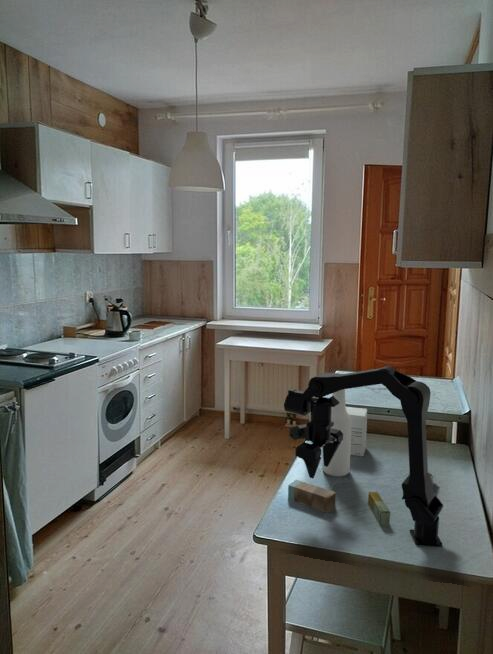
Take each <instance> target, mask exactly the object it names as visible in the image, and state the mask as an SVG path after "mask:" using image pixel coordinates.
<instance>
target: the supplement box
mask: <svg viewBox="0 0 493 654" xmlns="http://www.w3.org/2000/svg"><path fill="white" fill-rule="evenodd" d="M346 411H347V412H348V414H349V415H350V417H351V421H352V426H351V451H350V456H355V457H357V456H358V457H365V452H366V449H367V429H368V425H367V422H368V408H364V407H363V408H361V407H360V408H359V407H351V406H346Z"/></svg>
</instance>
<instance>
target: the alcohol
mask: <svg viewBox="0 0 493 654" xmlns="http://www.w3.org/2000/svg"><path fill="white" fill-rule="evenodd" d="M331 395H332V396H334V397H335V399H337V400H338V401H339V404H338V405H336V406H335V407H332V412H331V421H332V422H334V425H333V426H332V427H331V428H333V429H337V430H341V432H342V433H343V440H342V441H341V444H340V445H339V447H338V448H337V450H336V452H335V454H334V456H333V458H332V460H331V462H330V464H329V465H328V467H326V466H324V460H323V459H322V471H323V472H324V473H325V475H328V476H331V477H336V478H337V477H338V478H341V477H345V476H347V475H348V474H349V472H350V471H351V455H350V451H351V426H352V421H351V417H350V415H349V414H348V412H347V411H346V407H347V406H346V389H343V390H340V391H337V392H334V393H332V394H331ZM332 396H331V397H332Z"/></svg>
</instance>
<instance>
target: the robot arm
mask: <svg viewBox="0 0 493 654" xmlns="http://www.w3.org/2000/svg"><path fill="white" fill-rule="evenodd" d="M307 385H308V387H307V388H306V389H304V391H303V390H298V389H295V388H291V389H289V390H288V391H287V395H286V397H285V400H284V402H283V408H284V410H285V412H286V413H288V414H289V413H290V414H295V415H299V416H303V417H305V416H307V415H308V414H310V417H309V418H310V421H308V422H307V423H305V424H298V425H296V426H291V427H290V428H289V435H288V436H289V437H290V439H293V441H297V440H302V439H304V440H305V441H304V442H302V443H301V444H299V445H298V446H296V447H295V448H294V455H295V457H296V458H297V457H298V459H302V461H303V462H304V464H305V467H306V470H307V473H308V477H309V479H314V478H315V475H316V473H317V470H318V469H319V468H318V467H319V466H320V462H321V459H322V461H323V460H324V466H326V467H328V465H329V464H330V462H331V460H332V458H333V456H334V454H335V452H336V450H337V448H338V447H339V445H340V444H341V441H342V440H343V433H342V432H341V430H337V429H333V428H331V427H332V426H333V425H334V422H332V421H331V412H332V407H335V406H336V405H338V404H339V401H338V400H337V399H335V397H334V396H330V397H327V396H329V395H332V393H334V392H337V391H340V390H343V389H345V390H347V389H357V388H362V387H369V386H376V385H382V386H383V387H385V389H387V390H388V391H389V392H390V394H391V395H392V396H393V397H395V398H396V399H397V400H399V401H400V405H401V410H402V413H403V415H404V417H405V419H406V423H407V424H406V425H407V426H406V427H407V446H408V463H409V465H408V466H409V468H408V469H409V473H410V475H409V474H408V475H409V476H408V475H407V477H406V478H405V479H404V480H403V482H402V483H401V488H402V498H401V500H404V505H405V507H406V508H407V509H409V511H410V514H411V518H412V522H414V525H413V527H414V528H413V529H409V534H410V536H411V538H412V539H413V541H414V544H415V545H416V546H423V547H427V546H428V547H443V542H442V541H441V539H440V537H439V525H440V516H439V514H440V513H441V512H442V510H443V508H444V504H443V503H442V502H441V500H440V499H439V498H438V496H437V495H436V493H435V488H434V482H433V483H432V480H431V478H430V476H429V474H428V473H429V470H428V468H429V467H428V445H427V424H426V423H427V422H426V421H427V420H426V419H427V414H428V410H429V407H430V400H431V389H430V387H429V386H428V385H427V384H426V383H424V382H423V381H419V380H416V379H415V378H413V377H411V376H409V375H408V374H404V373H402V372H401V371H398V370H397V369H395V368H394V367H392V366H390V365H385V366H383V367H379V368H373V369H368V370H367V369H366V370H360V371H354V372H349V373H337V372H323V373H320V374H318V375H316V376H314V377H311V378H310V379H309V381H308V384H307ZM309 442H311V443H309ZM321 455H322V457H321Z"/></svg>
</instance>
